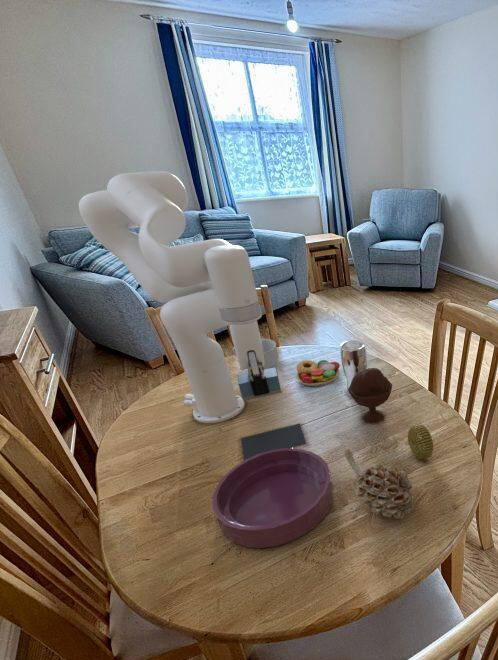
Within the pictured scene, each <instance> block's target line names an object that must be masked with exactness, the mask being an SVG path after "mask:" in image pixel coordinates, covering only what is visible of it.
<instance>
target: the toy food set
mask: <svg viewBox="0 0 498 660" xmlns="http://www.w3.org/2000/svg"><path fill="white" fill-rule="evenodd" d="M340 367H341V365H340V363H339V362H337V361H331V362H329V360H326V359H321V360H319V361H318V362H316V361H313V360H310V359H305V360H301V361H299V362H298V363H297V364H296V365H295V370H296V372H297V373H296V376H295V379H296V380H297V381H298V382H299V383H301V384H302V385H305V386H308V387H319V386H325V385H328V384H330V383H332V382H333V381H334V380H336V379H337V378H338V377H339V374H340Z"/></svg>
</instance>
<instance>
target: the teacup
mask: <svg viewBox="0 0 498 660" xmlns="http://www.w3.org/2000/svg"><path fill="white" fill-rule="evenodd" d="M261 342H262V348H263V354H264V362H265V365H264V366H263V368H264V369H269V368H274V367H275V368H276V366H277V364H278V362H279V354H278V348H277V343H276V341H274V340H273V339H270V338H261ZM232 354H233V355H234V356H235V357H236V358H237V355H236V351H235V348H234V346H233V347H232ZM246 370H248V367H247V369H246Z"/></svg>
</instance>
